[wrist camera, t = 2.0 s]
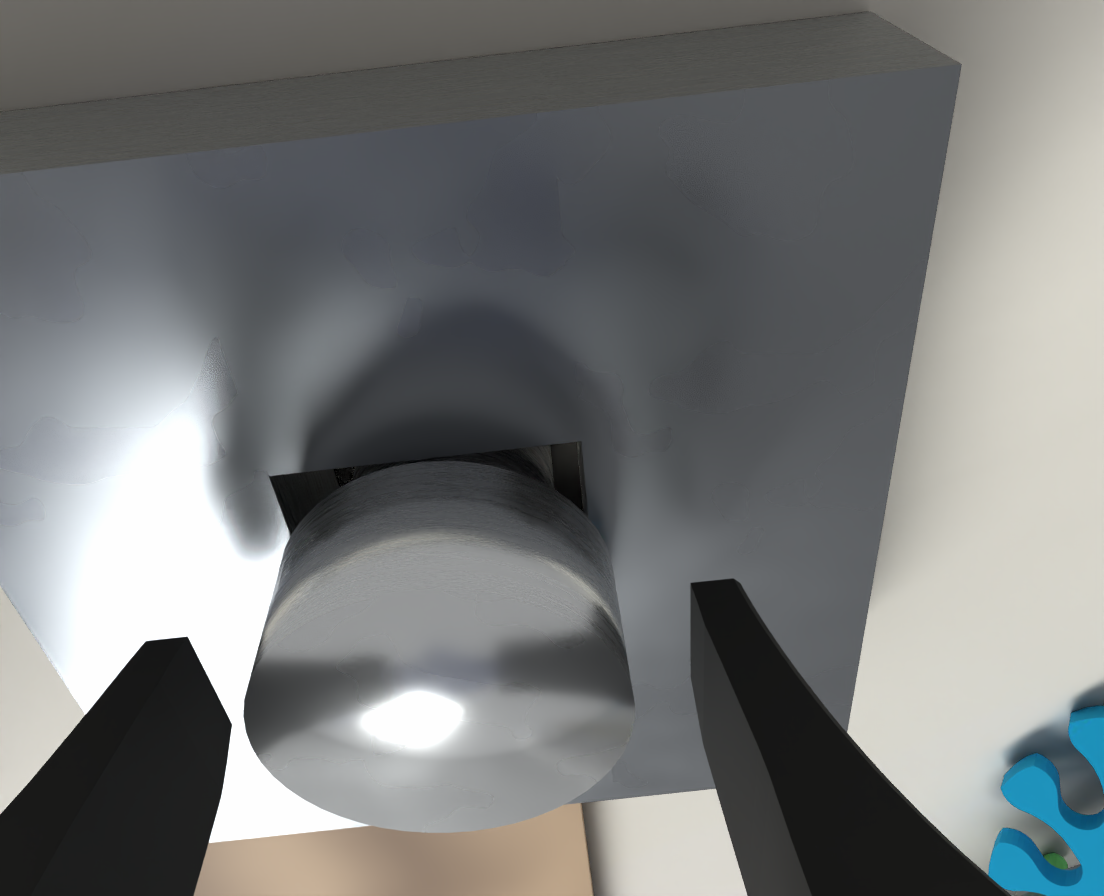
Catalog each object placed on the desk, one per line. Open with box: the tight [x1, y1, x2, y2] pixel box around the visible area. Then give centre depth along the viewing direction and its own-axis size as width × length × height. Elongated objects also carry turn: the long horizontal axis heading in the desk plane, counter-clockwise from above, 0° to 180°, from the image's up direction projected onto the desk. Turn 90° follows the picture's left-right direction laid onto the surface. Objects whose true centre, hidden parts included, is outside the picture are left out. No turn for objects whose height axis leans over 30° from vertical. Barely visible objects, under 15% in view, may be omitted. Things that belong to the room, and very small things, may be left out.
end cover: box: [243, 445, 635, 833], centre depth 14 cm, size 5×5×6 cm
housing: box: [0, 12, 962, 843], centre depth 16 cm, size 14×14×3 cm
